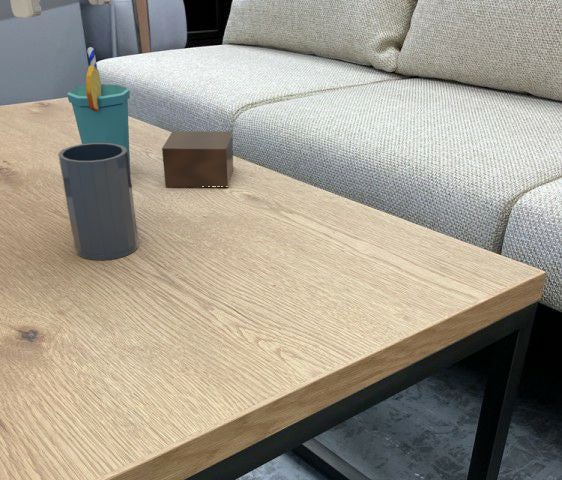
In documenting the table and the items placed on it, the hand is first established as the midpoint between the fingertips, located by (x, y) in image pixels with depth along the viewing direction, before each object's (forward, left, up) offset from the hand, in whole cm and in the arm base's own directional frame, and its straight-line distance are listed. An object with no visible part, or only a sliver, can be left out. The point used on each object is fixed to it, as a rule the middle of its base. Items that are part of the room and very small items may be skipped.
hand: (67, 10), depth 60 cm
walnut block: (+7, +25, -23) cm, 34 cm away
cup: (-6, +27, -23) cm, 36 cm away
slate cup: (0, +2, -23) cm, 23 cm away
